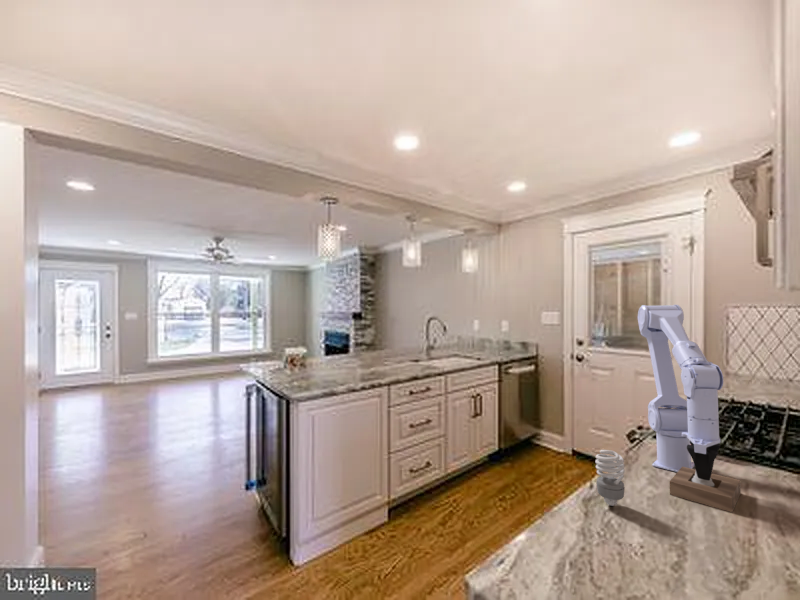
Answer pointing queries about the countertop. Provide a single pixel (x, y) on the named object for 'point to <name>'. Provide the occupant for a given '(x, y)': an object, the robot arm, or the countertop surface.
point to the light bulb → (610, 476)
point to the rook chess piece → (702, 481)
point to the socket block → (706, 489)
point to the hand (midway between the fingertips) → (704, 476)
